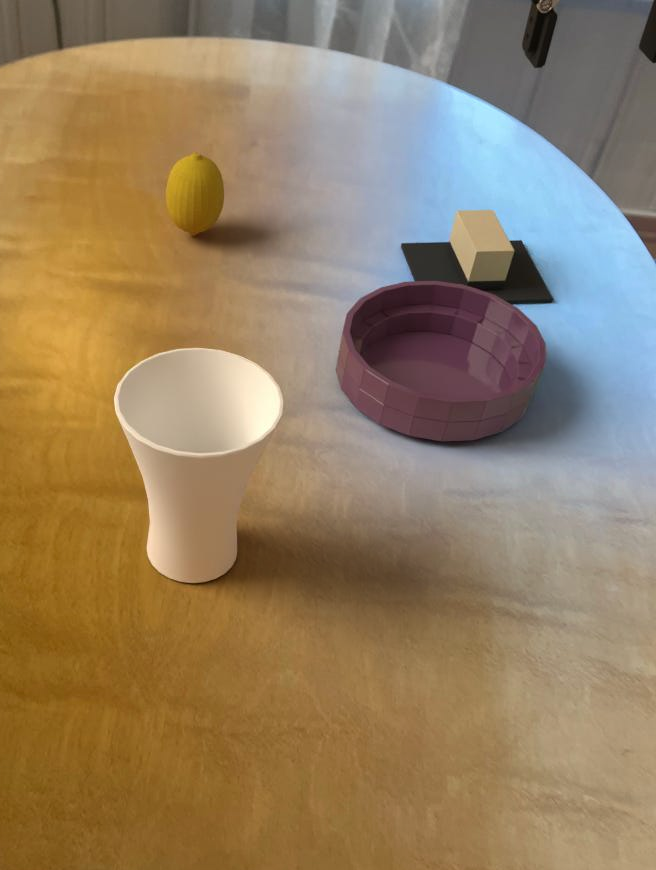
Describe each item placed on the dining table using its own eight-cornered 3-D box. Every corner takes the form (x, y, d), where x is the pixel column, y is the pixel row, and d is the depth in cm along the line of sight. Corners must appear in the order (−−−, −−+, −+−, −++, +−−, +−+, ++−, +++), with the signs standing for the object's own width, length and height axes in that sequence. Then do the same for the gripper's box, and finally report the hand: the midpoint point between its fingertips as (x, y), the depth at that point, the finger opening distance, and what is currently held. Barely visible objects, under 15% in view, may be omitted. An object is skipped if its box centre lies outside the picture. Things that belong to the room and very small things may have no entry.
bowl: (498, 323, 90) (512, 278, 87) (554, 443, 80) (573, 397, 77) (320, 328, 89) (327, 283, 86) (355, 450, 79) (365, 405, 76)
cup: (191, 479, 77) (198, 326, 66) (294, 552, 72) (319, 401, 62) (88, 548, 72) (78, 396, 62) (192, 630, 68) (200, 482, 57)
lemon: (233, 235, 98) (238, 153, 92) (195, 257, 96) (198, 174, 90) (191, 214, 101) (194, 133, 94) (153, 234, 98) (153, 153, 92)
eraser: (481, 249, 97) (493, 209, 94) (502, 290, 93) (514, 250, 90) (446, 249, 97) (456, 210, 94) (465, 291, 93) (476, 251, 89)
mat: (520, 243, 99) (521, 239, 98) (552, 302, 93) (553, 299, 92) (400, 246, 98) (401, 242, 98) (424, 306, 92) (425, 302, 91)
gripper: (566, -194, 66) (500, 83, 79) (820, -201, 67) (713, 74, 80) (530, -222, 70) (474, 44, 84) (769, -228, 71) (676, 36, 85)
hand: (591, 58), depth 82 cm, fingers open, 9 cm apart
